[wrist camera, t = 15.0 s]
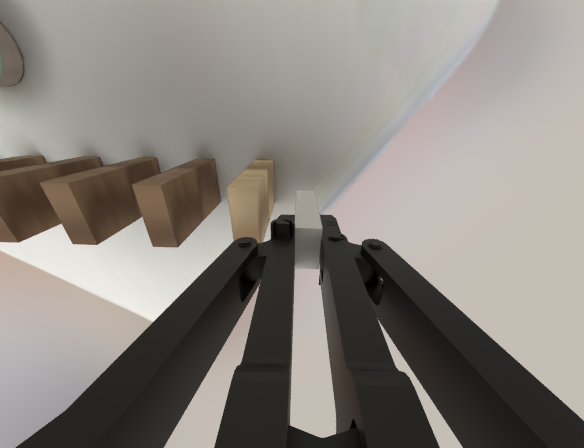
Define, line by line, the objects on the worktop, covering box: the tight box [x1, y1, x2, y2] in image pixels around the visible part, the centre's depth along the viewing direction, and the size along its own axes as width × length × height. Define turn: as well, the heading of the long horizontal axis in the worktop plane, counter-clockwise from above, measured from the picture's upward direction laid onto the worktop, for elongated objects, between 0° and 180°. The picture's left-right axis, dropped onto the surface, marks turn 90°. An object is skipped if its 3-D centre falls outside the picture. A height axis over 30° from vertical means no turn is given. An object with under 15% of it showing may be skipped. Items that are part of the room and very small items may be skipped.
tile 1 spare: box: [227, 160, 275, 243], centre depth 20 cm, size 5×2×10 cm, turn 179°
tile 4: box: [0, 157, 103, 243], centre depth 20 cm, size 5×2×10 cm, turn 179°
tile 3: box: [39, 158, 161, 245], centre depth 20 cm, size 5×2×10 cm, turn 179°
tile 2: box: [132, 159, 221, 247], centre depth 20 cm, size 5×2×10 cm, turn 179°
